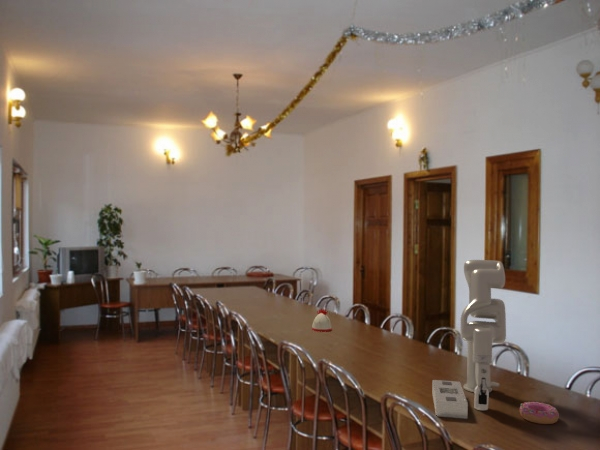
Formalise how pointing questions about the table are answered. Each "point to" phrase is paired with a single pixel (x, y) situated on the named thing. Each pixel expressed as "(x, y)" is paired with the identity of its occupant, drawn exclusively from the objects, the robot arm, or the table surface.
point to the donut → (539, 412)
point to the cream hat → (321, 322)
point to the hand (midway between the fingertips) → (481, 401)
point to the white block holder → (449, 399)
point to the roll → (476, 398)
